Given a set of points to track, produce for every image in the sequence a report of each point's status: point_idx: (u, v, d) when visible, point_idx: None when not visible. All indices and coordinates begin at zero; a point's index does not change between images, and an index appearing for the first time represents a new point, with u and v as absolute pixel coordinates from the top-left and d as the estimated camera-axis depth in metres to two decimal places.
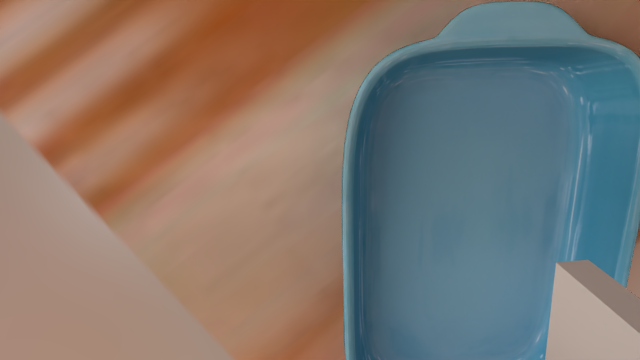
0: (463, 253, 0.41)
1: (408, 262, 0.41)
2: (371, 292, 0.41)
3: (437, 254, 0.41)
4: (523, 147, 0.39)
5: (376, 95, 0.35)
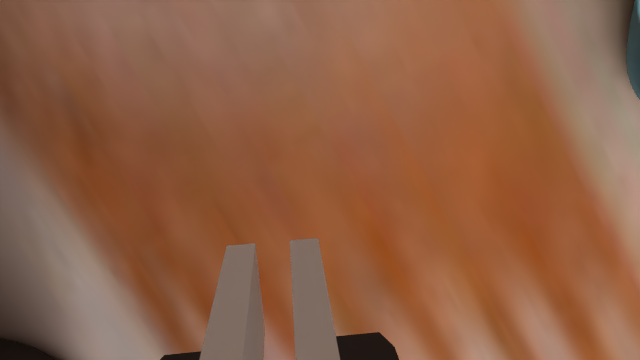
0: None
1: None
2: None
3: None
4: None
5: None
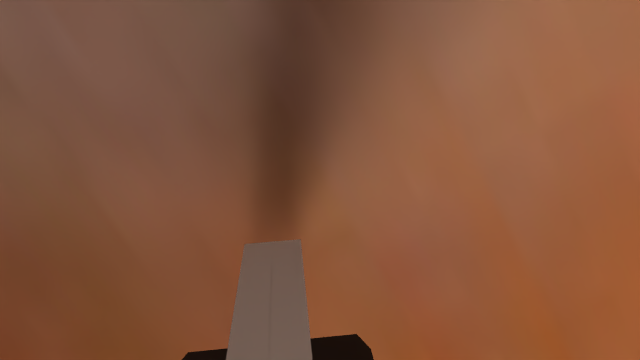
0: None
1: None
2: None
3: None
4: None
5: None
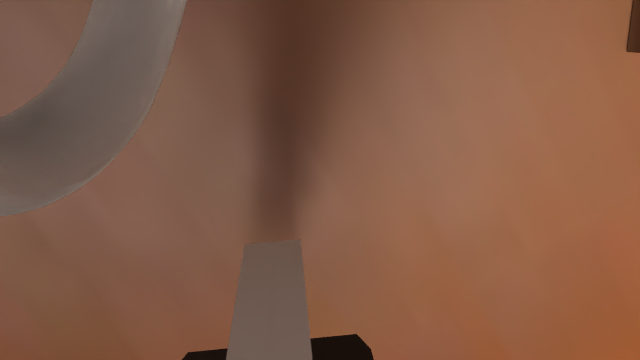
0: None
1: None
2: None
3: None
4: None
5: None
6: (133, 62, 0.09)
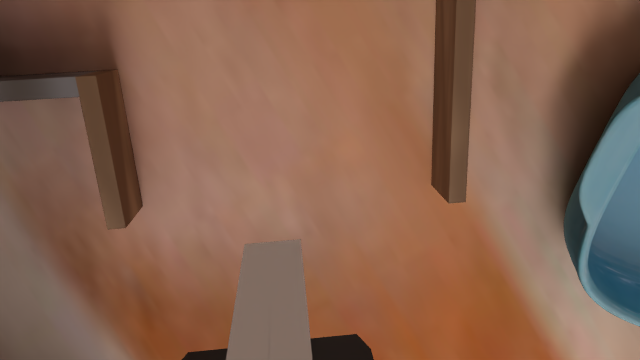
0: None
1: None
2: None
3: None
4: None
5: None
6: None
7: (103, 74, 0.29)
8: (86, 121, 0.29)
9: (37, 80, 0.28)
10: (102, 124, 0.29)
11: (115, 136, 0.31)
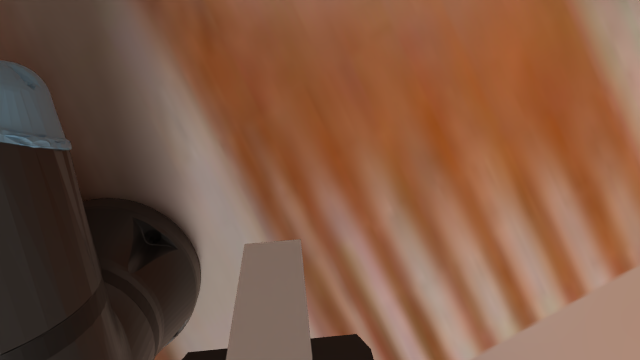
0: None
1: None
2: None
3: None
4: None
5: None
6: None
7: None
8: None
9: None
10: None
11: None
